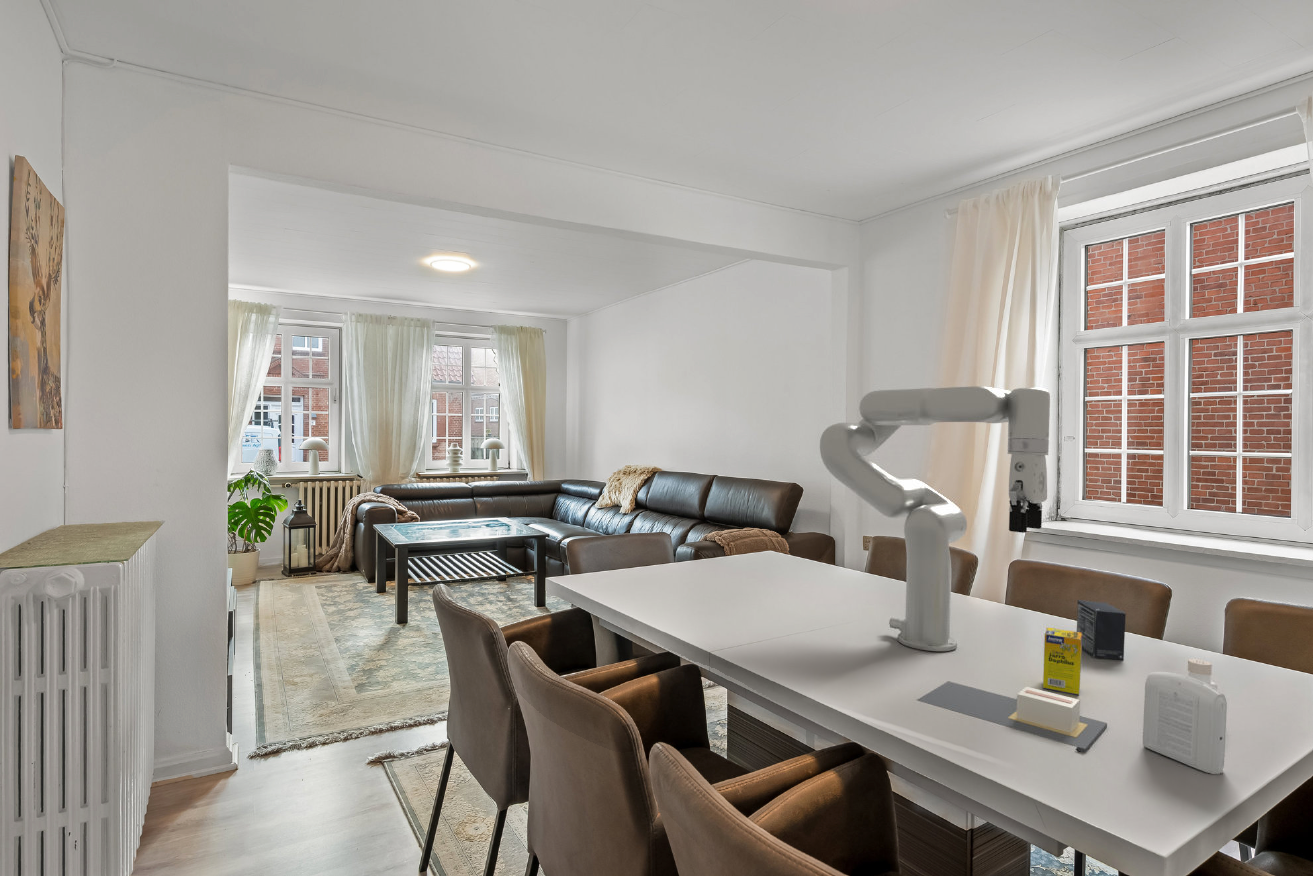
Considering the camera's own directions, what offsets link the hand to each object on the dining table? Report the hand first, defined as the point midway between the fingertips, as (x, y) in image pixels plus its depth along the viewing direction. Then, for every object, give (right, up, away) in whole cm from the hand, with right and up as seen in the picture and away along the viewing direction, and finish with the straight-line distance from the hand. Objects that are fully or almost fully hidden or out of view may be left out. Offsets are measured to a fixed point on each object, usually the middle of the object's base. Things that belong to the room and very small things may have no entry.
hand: (1025, 529), depth 146 cm
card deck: (-12, -28, -30) cm, 43 cm away
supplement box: (-1, -29, -14) cm, 32 cm away
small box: (+22, -29, +11) cm, 38 cm away
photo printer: (+2, -29, -42) cm, 51 cm away
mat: (-17, -28, -26) cm, 42 cm away
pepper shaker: (+17, -29, -25) cm, 42 cm away
